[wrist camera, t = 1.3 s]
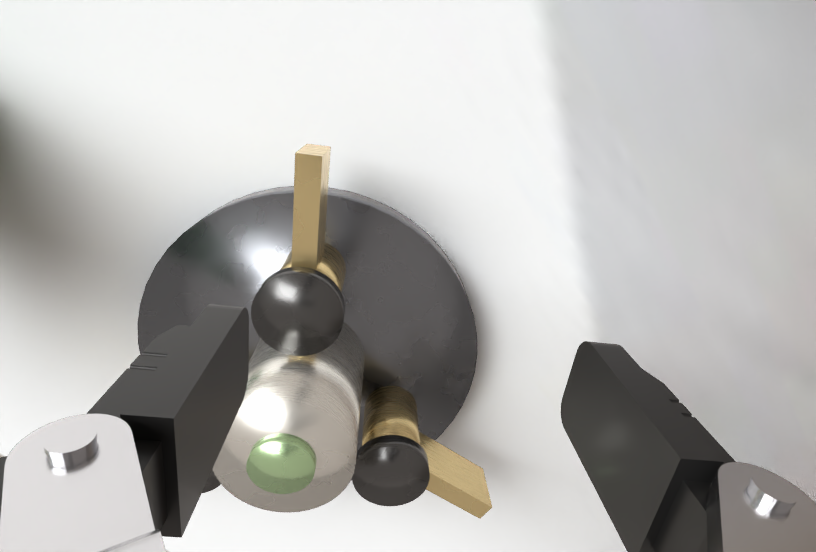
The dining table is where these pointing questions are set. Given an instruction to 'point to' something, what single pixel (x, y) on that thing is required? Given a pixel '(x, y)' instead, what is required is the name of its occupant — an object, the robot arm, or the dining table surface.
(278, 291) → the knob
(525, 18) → the dining table surface
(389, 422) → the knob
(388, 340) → the base
